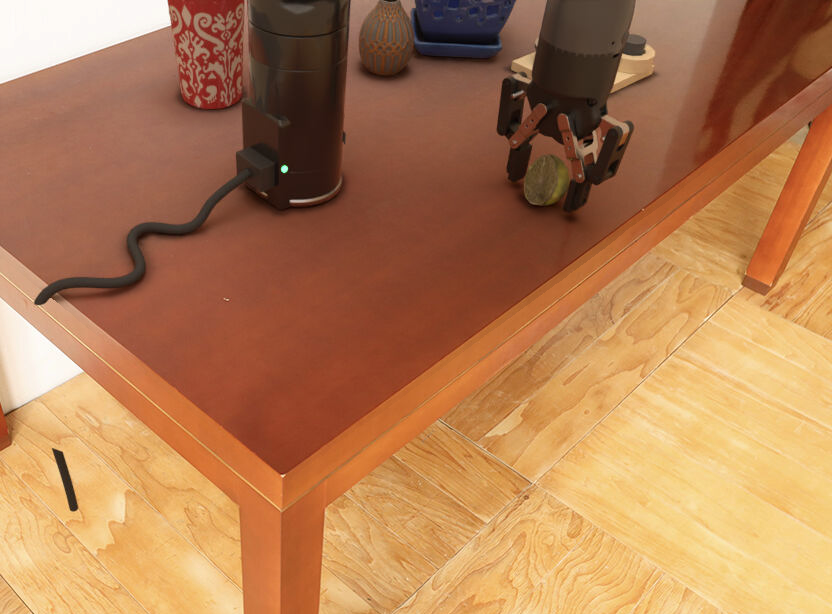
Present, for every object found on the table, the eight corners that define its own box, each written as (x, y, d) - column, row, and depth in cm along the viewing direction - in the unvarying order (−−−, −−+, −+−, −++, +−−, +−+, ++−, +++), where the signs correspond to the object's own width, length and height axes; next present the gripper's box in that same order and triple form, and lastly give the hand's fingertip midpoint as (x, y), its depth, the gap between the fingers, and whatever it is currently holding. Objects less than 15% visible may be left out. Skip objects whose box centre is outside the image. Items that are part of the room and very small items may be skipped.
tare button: (633, 59, 107) (637, 46, 105) (613, 51, 108) (617, 37, 107) (647, 53, 108) (651, 39, 107) (627, 45, 110) (631, 31, 108)
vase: (411, 59, 111) (419, -11, 105) (410, 83, 106) (418, 11, 100) (358, 55, 111) (363, -15, 105) (355, 79, 106) (359, 7, 100)
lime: (553, 218, 86) (564, 174, 82) (510, 201, 88) (520, 158, 84) (571, 199, 88) (584, 156, 85) (530, 183, 90) (540, 140, 87)
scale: (589, 106, 103) (595, 83, 101) (510, 69, 110) (514, 46, 107) (657, 74, 110) (664, 51, 108) (579, 41, 116) (584, 19, 114)
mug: (228, 120, 98) (223, 0, 88) (160, 103, 100) (147, -16, 91) (275, 76, 106) (274, -39, 97) (210, 61, 108) (203, -52, 99)
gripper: (494, 16, 78) (466, 176, 90) (626, 73, 70) (577, 239, 82) (546, -3, 81) (513, 154, 93) (677, 49, 74) (623, 212, 86)
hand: (543, 193), depth 88 cm, fingers open, 6 cm apart
